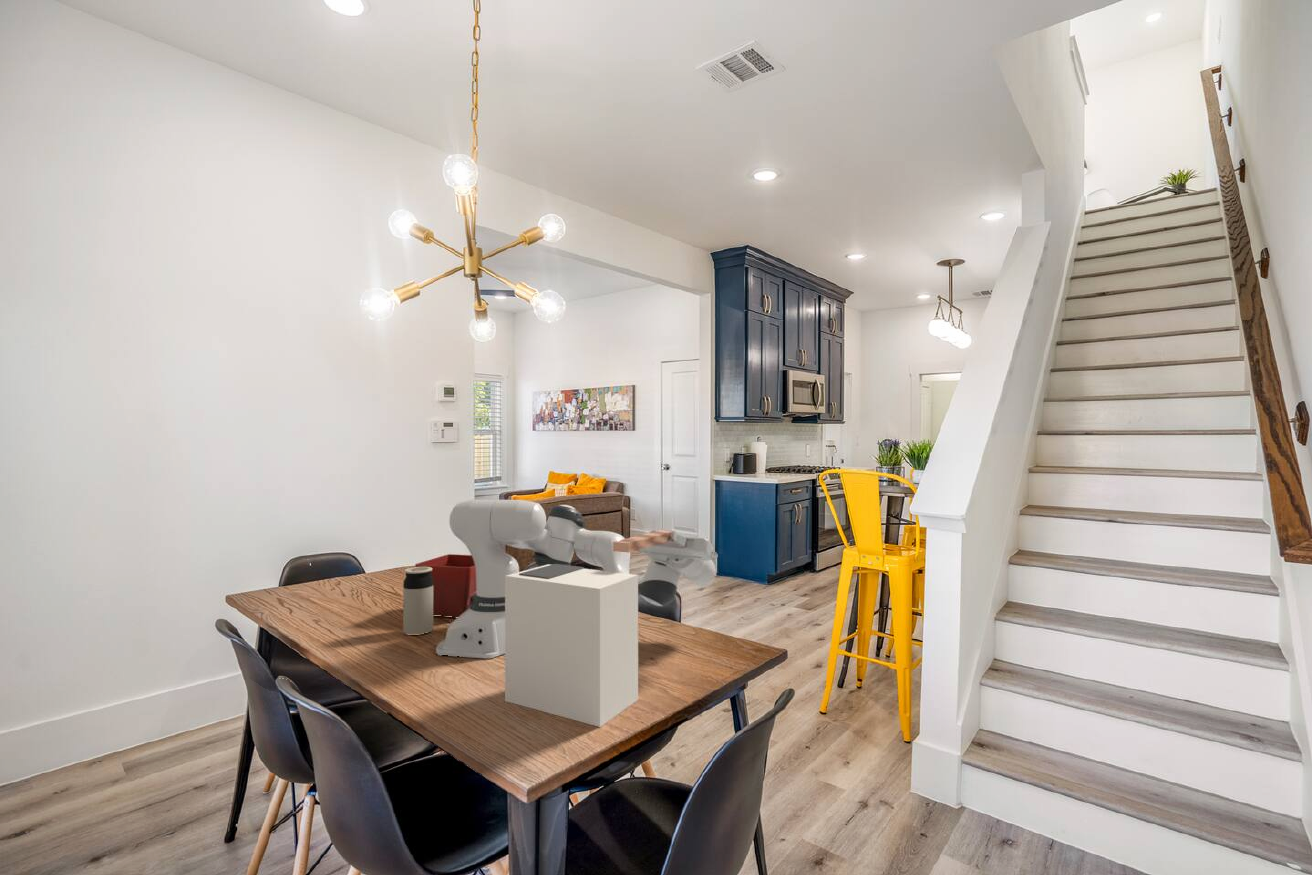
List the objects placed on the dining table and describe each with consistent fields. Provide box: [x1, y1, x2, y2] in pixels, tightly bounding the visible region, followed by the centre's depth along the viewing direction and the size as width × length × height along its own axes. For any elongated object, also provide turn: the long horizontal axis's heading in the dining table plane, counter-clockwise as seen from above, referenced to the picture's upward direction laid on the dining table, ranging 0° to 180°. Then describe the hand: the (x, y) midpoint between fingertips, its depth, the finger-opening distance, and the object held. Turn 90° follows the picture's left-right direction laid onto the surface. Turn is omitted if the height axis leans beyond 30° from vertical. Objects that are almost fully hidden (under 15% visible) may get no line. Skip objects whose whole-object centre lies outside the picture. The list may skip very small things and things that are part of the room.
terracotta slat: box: [613, 529, 676, 553], centre depth 140 cm, size 22×4×2 cm, turn 151°
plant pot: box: [414, 553, 476, 617], centre depth 191 cm, size 19×19×17 cm
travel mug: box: [402, 566, 434, 634], centre depth 171 cm, size 8×8×18 cm
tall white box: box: [504, 564, 639, 728], centre depth 125 cm, size 14×24×26 cm, turn 61°
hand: (661, 534), depth 146 cm, fingers closed on terracotta slat, 4 cm apart
